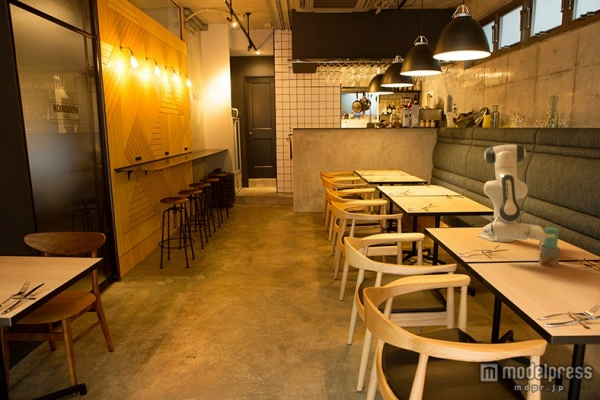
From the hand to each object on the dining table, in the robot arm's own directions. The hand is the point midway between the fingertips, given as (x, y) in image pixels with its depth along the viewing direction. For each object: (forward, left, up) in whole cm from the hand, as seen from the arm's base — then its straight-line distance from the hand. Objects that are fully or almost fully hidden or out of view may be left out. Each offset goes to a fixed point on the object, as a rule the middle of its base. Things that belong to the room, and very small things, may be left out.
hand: (553, 233), depth 223 cm
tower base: (-1, -1, -17) cm, 17 cm away
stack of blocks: (-13, +18, -17) cm, 28 cm away
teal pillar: (0, -1, -7) cm, 7 cm away
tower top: (0, 0, -12) cm, 12 cm away
